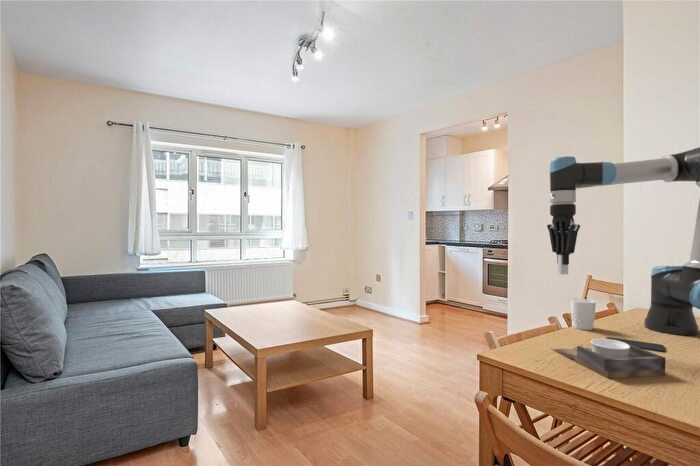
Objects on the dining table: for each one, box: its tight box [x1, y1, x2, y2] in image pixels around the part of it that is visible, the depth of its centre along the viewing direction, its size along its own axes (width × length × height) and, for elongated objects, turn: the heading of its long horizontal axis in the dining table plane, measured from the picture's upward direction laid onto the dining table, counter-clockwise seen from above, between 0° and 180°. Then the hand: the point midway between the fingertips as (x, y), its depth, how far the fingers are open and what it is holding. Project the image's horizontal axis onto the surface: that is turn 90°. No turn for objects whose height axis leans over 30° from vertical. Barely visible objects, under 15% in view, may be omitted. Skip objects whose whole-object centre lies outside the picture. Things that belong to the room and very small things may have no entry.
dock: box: [550, 344, 667, 379], centre depth 109 cm, size 16×22×6 cm
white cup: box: [570, 298, 597, 331], centre depth 142 cm, size 8×8×10 cm
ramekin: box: [590, 338, 630, 359], centre depth 106 cm, size 9×9×4 cm
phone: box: [605, 336, 666, 353], centre depth 123 cm, size 7×1×15 cm
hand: (563, 274), depth 130 cm, fingers closed
